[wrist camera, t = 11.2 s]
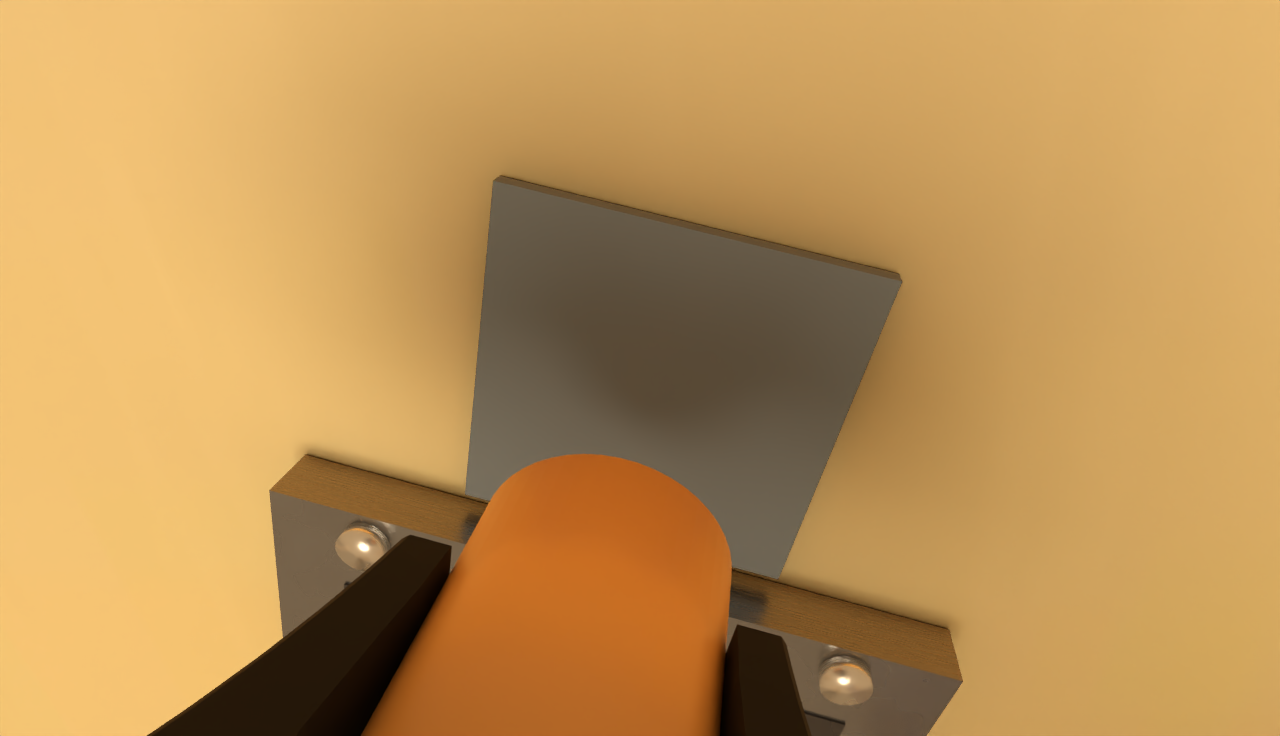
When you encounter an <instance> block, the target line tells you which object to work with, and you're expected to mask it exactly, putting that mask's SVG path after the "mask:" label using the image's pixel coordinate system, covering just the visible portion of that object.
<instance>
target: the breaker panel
mask: <svg viewBox="0 0 1280 736" xmlns="http://www.w3.org/2000/svg"><path fill="white" fill-rule="evenodd" d="M269 491H270V502H271V513H272V523H273V534H274V545H275V556H276V567H277V577H278V588H279V599H280V610H281V621H282V631H283V638H284V637H285V636H286V635H287V634H289V633H290V632H291V631H293V630H294V629H295V628H296V627H298V626H299V625H300V624H301V623H303V622H304V621H305V620H306V619H308V618H309V617H310V616H312V615H313V614H314V613H315V612H317V611H318V610H319V609H320V608H322V607H323V606H324V605H325V604H327V603H328V602H329V601H330V600H331V599H333V598H334V597H335V596H336V595H337V594H339V593H340V592H341V591H342V590H343V589H345V588H346V587H347V586H348V585H349V584H351V583H352V582H353V581H354V580H355V579H356V578H358V577H359V576H360V575H361V574H362V573H363V572H365V571H366V570H367V569H368V568H369V567H370V566H372V565H373V564H374V563H375V562H376V561H377V560H378V559H380V558H381V557H382V556H383V555H384V554H385V553H386V552H387V551H389V550H390V549H391V548H392V547H393V546H394V545H395V544H396V543H398V542H399V541H400V540H401V539H402V538H404V537H406V536H408V535H414V536H418V537H421V538H425V539H429V540H432V541H436V542H440V543H443V544H447V545H450V546H452V551H451V563H450V573H451V571H452V569H453V567H454V565H455V564H456V562H457V560H458V558H459V556H460V555H461V553H462V551H463V549H464V547H465V545H466V544H467V542H468V540H469V538H470V536H471V535H472V533H473V531H474V529H475V527H476V525H477V524H478V522H479V520H480V518H481V516H482V515H483V513H484V511H485V509H486V507H487V506H488V504H485V503H481V502H477V501H474V500H470V499H466V498H463V497H459V496H455V495H452V494H448V493H444V492H441V491H437V490H433V489H430V488H426V487H422V486H419V485H415V484H411V483H407V482H404V481H400V480H396V479H393V478H389V477H385V476H382V475H378V474H374V473H371V472H367V471H363V470H360V469H356V468H352V467H349V466H345V465H341V464H338V463H334V462H330V461H327V460H323V459H319V458H316V457H312V456H308V455H305V456H304V457H303V458H302V459H301V460H300V461H299V462H298V463H297V464H296V465H295V466H294V467H292V468H291V469H290V470H289V471H288V472H287V473H286V474H285V475H284V476H283V477H282V478H281V479H280V480H279V481H278V482H277V483H276V484H275V485H274V486H273V487H272V488H271V489H270V490H269ZM737 624H738V625H742V626H745V627H749V628H753V629H756V630H760V631H764V632H767V633H771V634H775V635H778V636H781V637H782V638H783V640H784V641H785V643H786V644H787V649H788V653H789V657H790V661H791V665H792V669H793V673H794V677H795V681H796V684H797V688H798V692H799V695H800V699H801V702H802V706H803V709H804V712H805V716H806V719H807V722H808V725H809V729H810V732H811V735H812V736H927V734H928V733H929V731H930V730H931V728H932V727H933V725H934V724H935V722H936V721H937V719H938V718H939V716H940V715H941V713H942V712H943V710H944V709H945V707H946V706H947V704H948V703H949V701H950V700H951V698H952V697H953V695H954V694H955V693H956V691H957V690H958V688H959V687H960V685H961V684H962V682H963V680H962V676H961V672H960V669H959V665H958V661H957V657H956V654H955V650H954V646H953V643H952V639H951V635H950V631H949V630H948V629H945V628H941V627H937V626H934V625H930V624H926V623H922V622H919V621H915V620H911V619H908V618H904V617H900V616H897V615H893V614H889V613H886V612H882V611H878V610H875V609H871V608H867V607H864V606H860V605H856V604H853V603H849V602H845V601H842V600H838V599H834V598H831V597H827V596H823V595H819V594H816V593H812V592H808V591H805V590H801V589H797V588H794V587H790V586H786V585H783V584H779V583H775V582H772V581H768V580H764V579H761V578H757V577H753V576H750V575H746V574H742V573H739V572H735V571H732V576H731V590H730V603H729V617H728V630H727V644H726V651H727V649H728V646H729V644H730V641H731V638H732V636H733V633H734V631H735V628H736V626H737Z"/></svg>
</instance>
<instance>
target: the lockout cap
mask: <svg viewBox="0 0 1280 736" xmlns="http://www.w3.org/2000/svg"><path fill="white" fill-rule="evenodd" d="M731 576H732V561H731V555H730V549H729V546H728V543H727V540H726V537H725V535H724V533H723V531H722V529H721V527H720V525H719V523H718V522H717V521H716V519H715V518H714V516H713V515H712V513H711V512H710V511H709V510H708V508H707V507H706V506H705V505H704V504H703V503H702V502H701V501H700V500H699V499H698V498H697V497H696V496H695V495H694V494H692V493H691V492H690V491H689V490H688V489H687V488H685V487H684V486H682V485H681V484H679V483H678V482H676V481H675V480H673V479H672V478H670V477H668V476H666V475H664V474H663V473H661V472H659V471H657V470H655V469H652V468H650V467H647V466H645V465H642V464H640V463H637V462H633V461H630V460H626V459H622V458H618V457H612V456H606V455H595V454H573V455H563V456H558V457H552V458H548V459H545V460H542V461H539V462H536V463H534V464H531V465H529V466H527V467H525V468H523V469H521V470H520V471H518V472H517V473H515V474H514V475H512V476H511V477H510V478H508V479H507V480H506V481H505V482H504V483H503V484H502V485H501V486H500V487H499V488H498V490H497V491H496V492H495V494H494V495H493V496H492V498H491V500H490V502H489V504H488V506H487V507H486V509H485V511H484V513H483V515H482V516H481V518H480V520H479V522H478V524H477V525H476V527H475V529H474V531H473V533H472V535H471V536H470V538H469V540H468V542H467V544H466V545H465V547H464V549H463V551H462V553H461V555H460V556H459V558H458V560H457V562H456V564H455V565H454V567H453V569H452V571H451V573H450V574H449V576H448V578H447V580H446V582H445V584H444V585H443V587H442V589H441V591H440V593H439V594H438V596H437V598H436V600H435V602H434V604H433V605H432V607H431V609H430V611H429V613H428V614H427V616H426V618H425V620H424V622H423V623H422V625H421V627H420V629H419V631H418V633H417V634H416V636H415V638H414V640H413V642H412V643H411V645H410V647H409V649H408V651H407V653H406V654H405V656H404V658H403V660H402V662H401V663H400V665H399V667H398V669H397V671H396V672H395V674H394V676H393V678H392V680H391V682H390V683H389V685H388V687H387V689H386V691H385V692H384V694H383V696H382V698H381V700H380V702H379V703H378V705H377V707H376V709H375V711H374V712H373V714H372V716H371V718H370V720H369V722H368V723H367V725H366V727H365V729H364V731H363V732H362V734H361V736H720V724H721V711H722V697H723V684H724V670H725V657H726V644H727V630H728V617H729V603H730V590H731Z"/></svg>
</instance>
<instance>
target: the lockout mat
mask: <svg viewBox="0 0 1280 736" xmlns="http://www.w3.org/2000/svg"><path fill="white" fill-rule="evenodd" d="M901 283H902V280H901V277H900V275H899V274H897V273H893V272H889V271H885V270H881V269H877V268H873V267H869V266H865V265H861V264H857V263H853V262H849V261H844V260H840V259H836V258H832V257H828V256H824V255H820V254H816V253H812V252H808V251H804V250H800V249H796V248H792V247H788V246H784V245H779V244H775V243H771V242H767V241H763V240H759V239H755V238H751V237H747V236H743V235H739V234H735V233H731V232H727V231H723V230H719V229H715V228H710V227H706V226H702V225H698V224H694V223H690V222H686V221H682V220H678V219H674V218H670V217H666V216H662V215H658V214H654V213H650V212H645V211H641V210H637V209H633V208H629V207H625V206H621V205H617V204H613V203H609V202H605V201H601V200H597V199H593V198H589V197H585V196H580V195H576V194H572V193H568V192H564V191H560V190H556V189H552V188H548V187H544V186H540V185H536V184H532V183H528V182H524V181H520V180H516V179H511V178H507V177H503V176H499V177H498V178H496V179H495V180H493V189H492V200H491V211H490V223H489V234H488V245H487V256H486V267H485V278H484V289H483V300H482V311H481V322H480V334H479V345H478V356H477V367H476V378H475V389H474V400H473V411H472V422H471V434H470V445H469V456H468V467H467V478H466V489H465V495H469V496H473V497H476V498H480V499H484V500H487V501H490V500H491V498H492V496H493V495H494V494H495V492H496V491H497V490H498V488H499V487H500V486H501V485H502V484H503V483H504V482H505V481H506V480H507V479H508V478H510V477H511V476H512V475H514V474H515V473H517V472H518V471H520V470H521V469H523V468H525V467H527V466H529V465H531V464H534V463H536V462H539V461H542V460H545V459H548V458H552V457H558V456H563V455H573V454H595V455H606V456H612V457H618V458H622V459H626V460H630V461H633V462H637V463H640V464H642V465H645V466H647V467H650V468H652V469H655V470H657V471H659V472H661V473H663V474H664V475H666V476H668V477H670V478H672V479H673V480H675V481H676V482H678V483H679V484H681V485H682V486H684V487H685V488H687V489H688V490H689V491H690V492H691V493H692V494H694V495H695V496H696V497H697V498H698V499H699V500H700V501H701V502H702V503H703V504H704V505H705V506H706V507H707V508H708V510H709V511H710V512H711V513H712V515H713V516H714V518H715V519H716V521H717V522H718V523H719V525H720V527H721V529H722V531H723V533H724V535H725V537H726V540H727V543H728V546H729V549H730V555H731V561H732V567H734V568H738V569H741V570H745V571H749V572H752V573H756V574H760V575H764V576H767V577H771V578H775V579H779V576H780V574H781V572H782V569H783V567H784V564H785V562H786V560H787V557H788V555H789V552H790V550H791V548H792V545H793V543H794V540H795V538H796V536H797V533H798V531H799V528H800V526H801V524H802V521H803V519H804V516H805V514H806V512H807V509H808V507H809V504H810V502H811V500H812V497H813V495H814V492H815V490H816V488H817V485H818V483H819V480H820V478H821V476H822V473H823V471H824V468H825V466H826V464H827V461H828V459H829V456H830V454H831V452H832V449H833V447H834V444H835V442H836V440H837V437H838V435H839V432H840V430H841V427H842V425H843V423H844V420H845V418H846V415H847V413H848V411H849V408H850V406H851V403H852V401H853V399H854V396H855V394H856V391H857V389H858V387H859V384H860V382H861V379H862V377H863V375H864V372H865V370H866V367H867V365H868V363H869V360H870V358H871V355H872V353H873V351H874V348H875V346H876V343H877V341H878V339H879V336H880V334H881V331H882V329H883V327H884V324H885V322H886V319H887V317H888V315H889V312H890V310H891V307H892V305H893V303H894V300H895V298H896V295H897V293H898V291H899V288H900V286H901Z"/></svg>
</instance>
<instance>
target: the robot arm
mask: <svg viewBox="0 0 1280 736" xmlns="http://www.w3.org/2000/svg"><path fill="white" fill-rule="evenodd" d="M451 551H452V546H450V545H447V544H443V543H440V542H436V541H432V540H429V539H425V538H421V537H418V536H414V535H408V536H406V537H404V538H402V539H401V540H400V541H399V542H398V543H396V544H395V545H394V546H393V547H392V548H391V549H390V550H389V551H387V552H386V553H385V554H384V555H383V556H382V557H381V558H380V559H378V560H377V561H376V562H375V563H374V564H373V565H372V566H370V567H369V568H368V569H367V570H366V571H365V572H363V573H362V574H361V575H360V576H359V577H358V578H356V579H355V580H354V581H353V582H352V583H351V584H349V585H348V586H347V587H346V588H345V589H343V590H342V591H341V592H340V593H339V594H337V595H336V596H335V597H334V598H333V599H331V600H330V601H329V602H328V603H327V604H325V605H324V606H323V607H322V608H320V609H319V610H318V611H317V612H315V613H314V614H313V615H312V616H310V617H309V618H308V619H306V620H305V621H304V622H303V623H301V624H300V625H299V626H298V627H296V628H295V629H294V630H293V631H291V632H290V633H289V634H287V635H286V636H285V637H284V638H282V639H281V640H280V641H279V642H277V643H276V644H275V645H274V646H272V647H271V648H270V649H268V650H267V651H266V652H264V653H263V654H262V655H260V656H259V657H258V658H256V659H255V660H254V661H252V662H251V663H250V664H248V665H247V666H245V667H244V668H243V669H241V670H240V671H238V672H237V673H236V674H234V675H233V676H232V677H230V678H229V679H227V680H226V681H225V682H223V683H222V684H221V685H219V686H218V687H216V688H215V689H214V690H212V691H211V692H209V693H208V694H207V695H205V696H204V697H203V698H201V699H200V700H198V701H197V702H196V703H194V704H193V705H191V706H190V707H188V708H187V709H186V710H184V711H183V712H181V713H180V714H178V715H177V716H175V717H174V718H172V719H171V720H169V721H168V722H166V723H165V724H164V725H162V726H161V727H159V728H158V729H156V730H155V731H153V732H152V733H150V734H149V735H147V736H361V734H362V732H363V731H364V729H365V727H366V725H367V723H368V722H369V720H370V718H371V716H372V714H373V712H374V711H375V709H376V707H377V705H378V703H379V702H380V700H381V698H382V696H383V694H384V692H385V691H386V689H387V687H388V685H389V683H390V682H391V680H392V678H393V676H394V674H395V672H396V671H397V669H398V667H399V665H400V663H401V662H402V660H403V658H404V656H405V654H406V653H407V651H408V649H409V647H410V645H411V643H412V642H413V640H414V638H415V636H416V634H417V633H418V631H419V629H420V627H421V625H422V623H423V622H424V620H425V618H426V616H427V614H428V613H429V611H430V609H431V607H432V605H433V604H434V602H435V600H436V598H437V596H438V594H439V593H440V591H441V589H442V587H443V585H444V584H445V582H446V580H447V578H448V576H449V574H450V563H451ZM720 736H812V735H811V732H810V729H809V725H808V722H807V719H806V716H805V712H804V709H803V706H802V702H801V699H800V695H799V692H798V688H797V684H796V681H795V677H794V673H793V669H792V665H791V661H790V657H789V653H788V649H787V644H786V643H785V641H784V640H783V638H782V637H781V636H778V635H775V634H771V633H767V632H764V631H760V630H756V629H753V628H749V627H745V626H742V625H738V624H737V626H736V628H735V631H734V633H733V636H732V638H731V641H730V644H729V646H728V649H727V651H726V657H725V670H724V684H723V697H722V711H721V724H720Z"/></svg>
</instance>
